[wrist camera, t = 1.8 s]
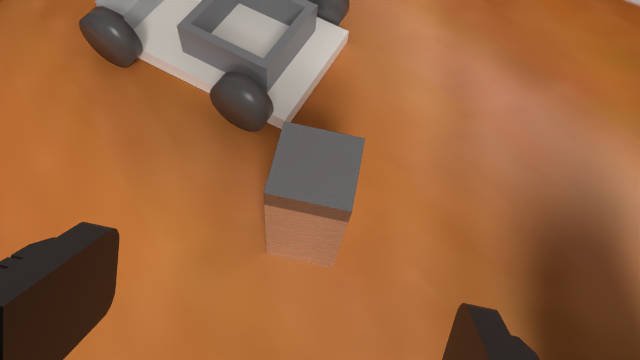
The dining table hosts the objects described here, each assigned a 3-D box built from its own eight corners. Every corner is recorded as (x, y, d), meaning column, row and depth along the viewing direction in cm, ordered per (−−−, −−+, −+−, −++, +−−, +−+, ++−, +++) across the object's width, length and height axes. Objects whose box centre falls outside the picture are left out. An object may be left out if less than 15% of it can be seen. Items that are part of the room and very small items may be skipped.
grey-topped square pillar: (266, 253, 35) (263, 192, 26) (281, 194, 37) (284, 121, 29) (332, 268, 35) (351, 211, 26) (343, 208, 37) (365, 138, 29)
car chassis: (82, 48, 43) (60, 3, 38) (184, -45, 50) (176, -91, 45) (274, 145, 39) (274, 109, 35) (354, 32, 46) (362, -11, 42)
